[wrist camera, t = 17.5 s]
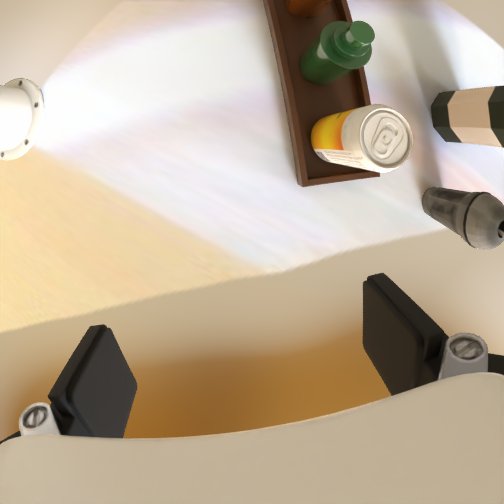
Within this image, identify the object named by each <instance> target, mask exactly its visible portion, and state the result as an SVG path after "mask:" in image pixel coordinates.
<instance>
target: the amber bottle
mask: <svg viewBox="0 0 504 504" xmlns="http://www.w3.org/2000/svg"><path fill="white" fill-rule="evenodd" d="M330 2H331V0H284V4H285V6H286V8H287V9H288V10H289V11H290V12H291V13H292V14H294V15H295V16H298V17H301V18H307V19H309V18H315V17H317V16H319V15H320V14H321V13H322V12H323V11H324V9H325V8H326V7H327V6H328V4H329V3H330Z"/></svg>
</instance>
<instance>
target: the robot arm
mask: <svg viewBox="0 0 504 504" xmlns="http://www.w3.org/2000/svg"><path fill="white" fill-rule="evenodd" d="M43 113H44V104H43V98H42V94H41V92H40V89H39V88H38V86H37V85H36V84H35V83H34V82H32V81H30V80H28V79H23V78H19V79H14V80H11V81H9V82H8V83H6V84H5V85H4V86H1V85H0V159H3V160H12V159H16V158H18V157H20V156H22V155H23V154H24V153H26V152H27V151H28V150H29V149H30V147H31V146H32V145H33V143H34V142H35V140H36V138H37V136H38V134H39V131H40V128H41V125H42V120H43ZM363 346H364V349H365V351H366V353H367V355H368V356H369V358H370V359H371V361H372V363H373V364H374V366H375V368H376V369H377V371H378V373H379V374H380V376H381V378H382V379H383V381H384V383H385V384H386V386H387V388H388V390H389V391H390V393H391V395H392V396H390V397H387V398H384V399H381V400H378V401H375V402H372V403H369V404H365V405H361V406H358V407H355V408H351V409H347V410H344V411H340V412H337V413H333V414H328V415H324V416H321V417H316V418H312V419H307V420H303V421H298V422H293V423H288V424H283V425H278V426H272V427H267V428H260V429H254V430H247V431H240V432H232V433H224V434H216V435H215V434H214V435H204V436H191V437H175V438H144V439H141V438H137V439H130V438H128V439H127V438H123V435H124V432H125V428H126V424H127V421H128V418H129V414H130V411H131V407H132V404H133V401H134V397H135V394H136V391H137V382H136V380H135V378H134V376H133V374H132V372H131V370H130V368H129V366H128V364H127V362H126V360H125V358H124V356H123V354H122V352H121V350H120V347H119V345H118V343H117V341H116V339H115V337H114V334H113V332H112V330H111V329H110V328H107V327H106V326H105V325H96V326H90V327H89V329H88V330H87V332H86V334H85V335H84V337H83V338H82V340H81V341H80V343H79V345H78V346H77V348H76V349H75V351H74V352H73V354H72V356H71V357H70V359H69V361H68V362H67V364H66V366H65V367H64V369H63V371H62V372H61V374H60V376H59V377H58V379H57V381H56V383H55V384H54V386H53V388H52V389H51V391H50V393H49V395H48V398H49V399H50V401H51V402H52V403H51V405H50V406H49V405H48V404H46V403H43V402H40V403H35V404H32V405H30V406H29V407H28V408H26V409H25V410H24V411H23V413H22V414H21V416H20V419H19V427H20V431H18V432H16V433H15V434H13V435H11V436H9V437H7V438H6V439H4V440H2V441H0V504H504V356H502V355H495V354H489V353H488V347H487V344H486V343H485V341H484V340H483V339H482V338H481V337H479V336H477V335H475V334H471V333H458V334H455V335H453V336H451V337H450V338H449V337H448V336H447V335H446V334H445V333H444V331H443V330H442V329H441V328H440V327H439V326H438V325H437V324H436V323H435V322H434V321H433V320H432V319H431V318H430V317H429V316H428V315H427V314H426V313H425V312H424V311H423V310H422V309H421V308H420V307H419V306H418V305H417V304H416V303H415V302H414V301H413V300H412V299H411V298H410V297H409V296H408V295H406V294H405V293H404V292H403V291H402V290H401V289H400V288H399V287H398V286H397V285H396V284H395V283H394V282H393V281H392V280H391V279H390V278H388V277H387V276H386V275H385V274H384V273H379V274H375V275H371V276H368V277H367V281H364V282H363Z"/></svg>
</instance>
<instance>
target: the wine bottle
mask: <svg viewBox="0 0 504 504" xmlns="http://www.w3.org/2000/svg"><path fill="white" fill-rule="evenodd" d="M431 111H432V118H433V127H434V128H435V129H436V130H437V132H438V133H439V134H440V135H441V137H442V138H443V139H444V140H445V141H446V142H458V143H469V144H479V145H488V146H496V147H504V86H495V87H484V88H474V89H465V90H457V91H450V92H443V93H439V95H438V96H437V98H436V99H435V101H434V102H433V104H432V105H431Z"/></svg>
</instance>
